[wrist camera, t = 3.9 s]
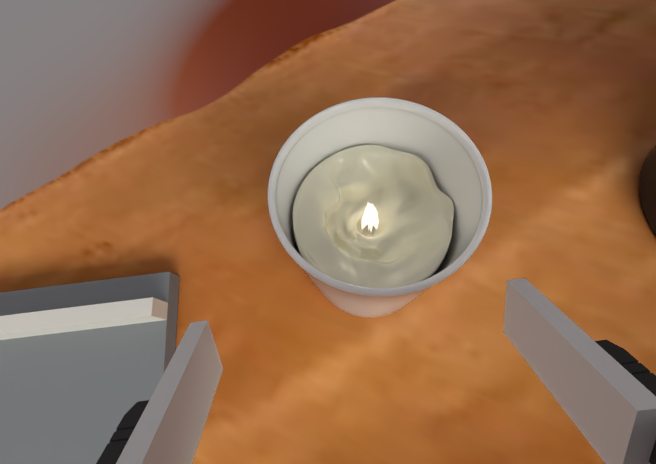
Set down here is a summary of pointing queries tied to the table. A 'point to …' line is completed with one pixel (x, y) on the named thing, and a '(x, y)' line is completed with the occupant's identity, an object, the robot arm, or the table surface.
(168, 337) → the grey tray with rails
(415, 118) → the candle holder
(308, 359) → the table surface
